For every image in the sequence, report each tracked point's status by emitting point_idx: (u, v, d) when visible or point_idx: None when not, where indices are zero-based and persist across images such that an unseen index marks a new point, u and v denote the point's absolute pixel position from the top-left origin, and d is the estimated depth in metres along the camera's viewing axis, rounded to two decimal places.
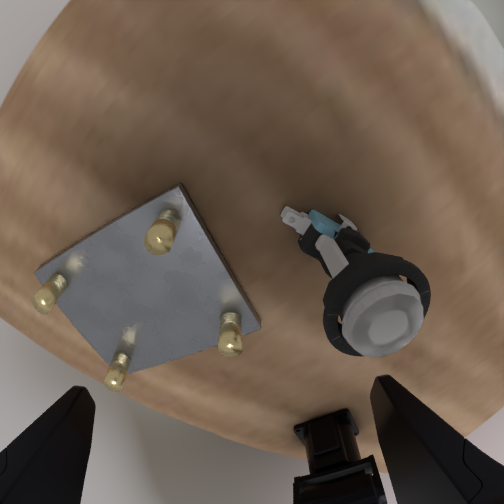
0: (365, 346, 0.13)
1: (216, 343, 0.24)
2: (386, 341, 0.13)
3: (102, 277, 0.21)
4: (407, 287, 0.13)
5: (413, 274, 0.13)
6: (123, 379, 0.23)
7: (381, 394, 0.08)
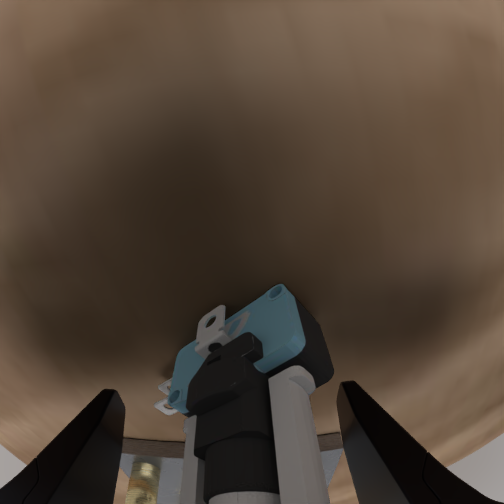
0: None
1: (329, 476, 0.15)
2: None
3: None
4: None
5: None
6: None
7: (344, 401, 0.08)
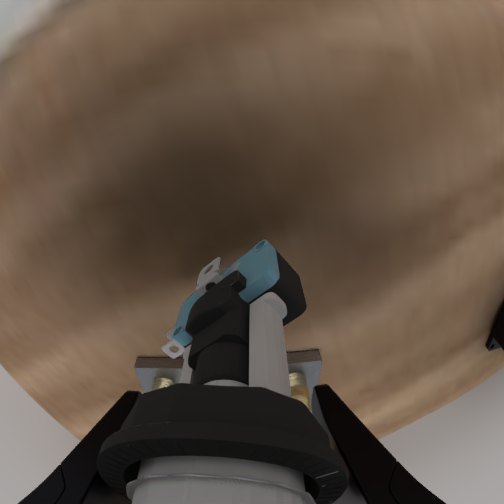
0: None
1: None
2: None
3: None
4: (149, 481, 0.04)
5: (131, 452, 0.05)
6: None
7: (317, 404, 0.08)
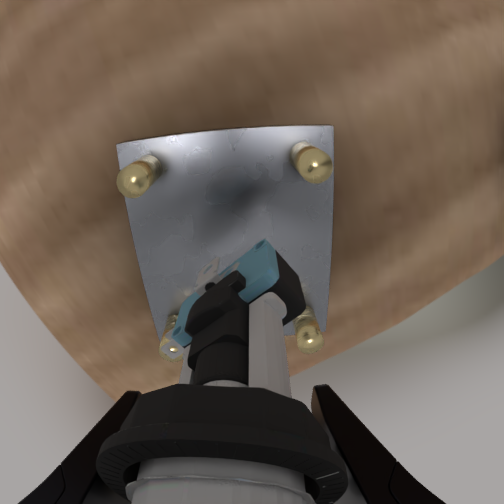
0: None
1: (330, 190, 0.18)
2: None
3: (187, 272, 0.20)
4: (148, 482, 0.04)
5: (130, 453, 0.04)
6: (313, 327, 0.19)
7: (316, 404, 0.08)
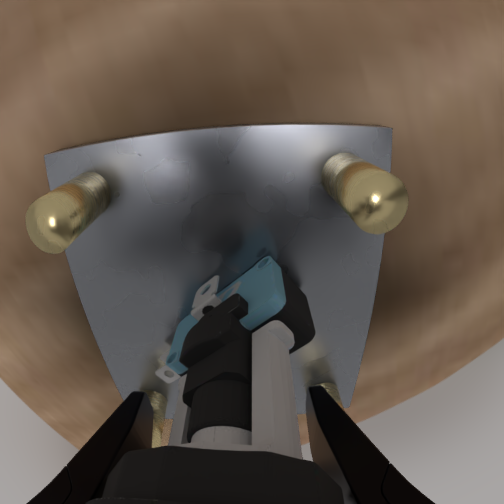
0: None
1: None
2: None
3: (159, 344, 0.13)
4: None
5: None
6: None
7: (310, 405, 0.08)
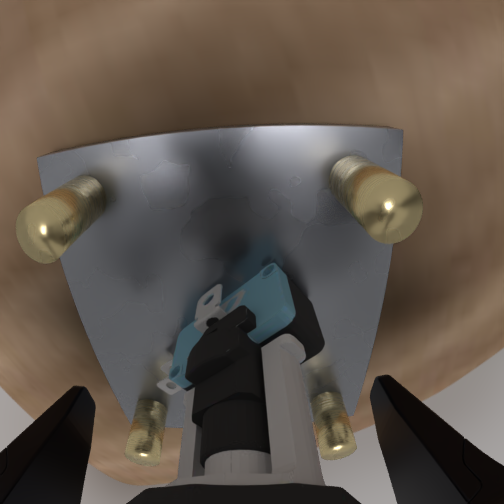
0: None
1: None
2: None
3: (158, 353, 0.12)
4: None
5: None
6: (344, 430, 0.12)
7: (381, 394, 0.08)
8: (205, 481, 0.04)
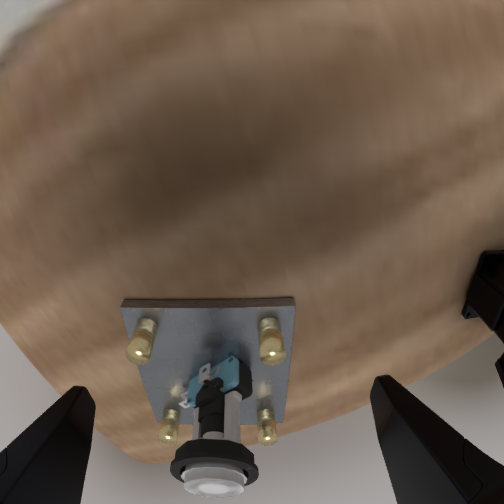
0: (224, 495, 0.15)
1: (289, 346, 0.23)
2: (227, 490, 0.15)
3: (178, 388, 0.25)
4: (192, 470, 0.15)
5: (187, 461, 0.15)
6: (270, 430, 0.24)
7: (381, 394, 0.08)
8: (203, 439, 0.17)
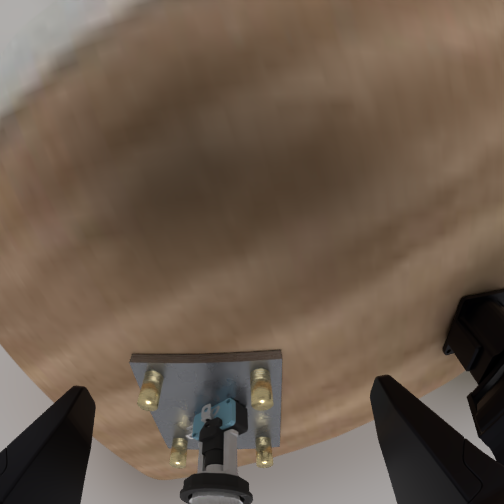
0: None
1: (279, 389, 0.25)
2: None
3: (185, 422, 0.27)
4: (197, 497, 0.17)
5: (193, 491, 0.17)
6: (267, 455, 0.26)
7: (381, 394, 0.08)
8: (206, 472, 0.19)
